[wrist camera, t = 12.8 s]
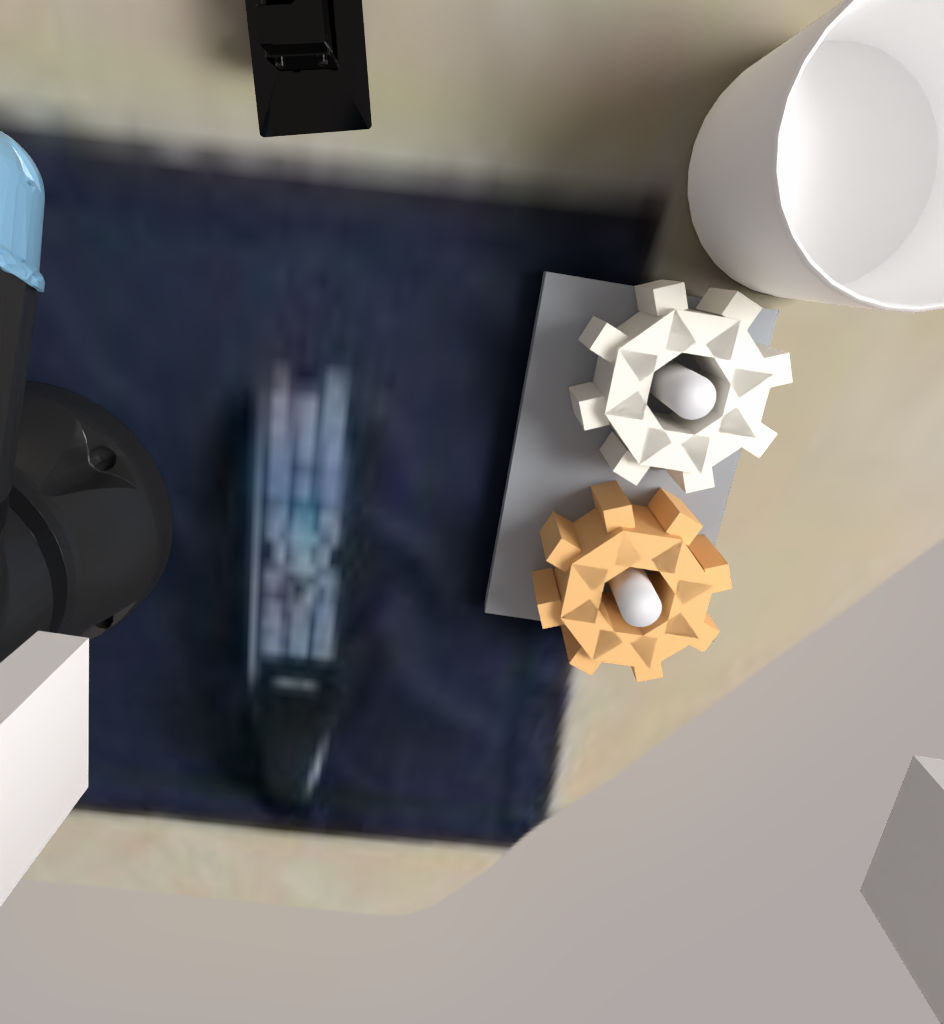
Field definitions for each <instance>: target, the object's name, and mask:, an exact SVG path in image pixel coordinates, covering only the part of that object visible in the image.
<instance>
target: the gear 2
mask: <svg viewBox="0 0 944 1024" xmlns="http://www.w3.org/2000/svg"><path fill="white" fill-rule="evenodd" d="M591 490H592V495H593V500H594V505H595V508H594V509H593V510H591V511H590V512H588V513H587V514H585V515H584V516H582V517H581V518H579V519H578V520H576V521H575V522H573V523H572V522H571V521H569V520H568V519H566V518H564V517H563V516H561V515H559V514H557V513H556V512H554V511H553V512H552V514H551V515H550V517H549V518H548V520H547V521H546V523H545V524H544V526H543V527H542V529H541V530H540V536H541V540H542V545H543V549H544V553H545V558H546V561H547V562H549V563H551V564H553V565H554V569H553V568H547V569H542V570H538V571H533V572H532V577H533V583H534V589H535V595H536V601H537V606H538V610H539V614H540V619H541V623H542V627H543V629H545V628H550V627H555V626H559V625H561V629H562V633H563V638H564V642H565V646H566V651H567V655H568V660H569V663H570V664H572V665H573V666H575V667H577V668H579V669H580V670H582V671H584V672H586V673H588V674H589V675H591V676H592V674H593V673H594V672H595V670H596V669H597V668H598V666H599V665H600V664H601V662H605V663H612V664H619V665H626V666H631V668H632V670H633V673H634V676H635V678H636V681H637V682H641V681H645V680H650V679H655V678H660V677H663V673H662V668H661V661H663V660H665V659H666V658H668V657H670V656H671V655H673V654H675V653H676V652H678V651H679V650H681V649H683V648H684V647H686V646H688V645H689V644H690V645H691V646H693V647H695V648H697V649H698V650H700V651H702V652H704V651H705V650H706V649H707V647H708V646H709V645H710V644H711V642H712V641H713V640H714V639H715V637H716V636H717V635H718V634H719V630H718V628H717V627H716V625H715V624H714V622H713V621H712V619H711V618H710V616H709V615H708V613H707V608H708V605H709V601H710V598H711V594H712V593H715V592H719V591H724V590H729V589H732V585H731V578H730V571H729V564H728V563H727V561H726V560H725V559H724V558H723V557H722V555H721V554H720V553H719V552H718V551H717V549H716V548H715V547H714V546H713V544H712V543H711V542H710V541H709V540H708V538H707V537H706V536H705V535H704V534H703V535H698V536H696V535H697V534H698V533H699V531H700V530H701V529H702V527H703V525H702V524H701V523H700V522H699V521H698V519H697V518H696V517H695V516H694V515H693V514H692V512H691V511H690V510H689V509H688V508H687V506H686V505H685V504H684V503H683V502H682V500H680V499H679V498H677V497H675V496H674V495H672V494H671V493H669V492H667V491H666V490H664V489H663V488H661V487H660V488H659V490H658V491H657V492H656V494H655V495H654V496H653V498H652V499H651V501H650V502H649V503H648V507H647V506H641V505H634V504H631V503H630V502H629V500H628V498H627V497H626V495H625V494H624V492H623V490H622V489H621V487H620V486H619V484H618V482H617V481H616V480H615V481H610V482H606V483H602V484H597V485H593V486H591ZM629 567H634V568H641V569H648V570H650V573H649V577H648V578H649V580H650V582H651V584H652V586H653V588H654V590H655V591H656V593H657V595H658V597H659V599H660V601H661V604H662V610H661V614H660V616H659V618H658V619H657V620H656V621H655V622H654V623H652V624H651V625H648V626H645V627H635V626H632V625H630V624H628V623H627V622H626V621H625V620H624V619H623V617H622V615H621V612H620V610H619V607H618V605H617V602H616V600H615V597H614V595H613V593H606V592H603V588H604V583H605V582H607V581H609V580H610V579H612V578H613V577H615V576H616V575H618V574H619V573H621V572H623V571H624V570H626V569H627V568H629Z"/></svg>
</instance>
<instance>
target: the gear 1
mask: <svg viewBox="0 0 944 1024" xmlns="http://www.w3.org/2000/svg"><path fill="white" fill-rule="evenodd" d="M634 287H635V293H636V299H637V305H638V310H639V312H638V313H637V314H635V315H634V316H632V317H631V318H630V319H628V320H627V321H625V322H624V323H622V324H621V325H620V326H618V327H617V328H615V327H613V326H611V325H610V324H608V323H607V322H605V321H603V320H601V319H599V318H597V317H595V316H593V317H592V318H591V320H590V322H589V323H588V325H587V326H586V328H585V329H584V331H583V332H582V334H581V336H580V337H579V339H578V340H579V341H580V342H581V343H583V344H584V345H585V346H586V347H587V348H589V349H590V350H591V351H593V352H595V353H596V354H598V359H597V364H596V369H595V373H594V378H593V383H592V382H588V383H584V384H579V385H575V386H571V387H569V392H570V397H571V402H572V407H573V412H574V414H575V416H576V417H577V419H578V421H579V422H580V424H581V425H582V427H583V429H584V430H589V429H593V428H598V427H602V426H606V425H610V426H611V427H612V429H613V430H614V432H613V431H612V432H611V433H610V434H609V436H608V437H607V439H606V440H605V442H604V443H603V445H602V446H601V448H600V449H599V450H600V452H601V453H602V455H603V456H604V458H605V460H606V461H607V463H608V464H609V466H610V468H611V469H612V471H613V472H615V473H617V474H618V475H620V476H622V477H623V478H625V479H626V480H628V481H630V482H631V483H633V484H635V485H636V486H637V484H638V483H639V482H640V480H641V479H642V477H643V476H644V475H645V473H646V472H647V470H648V469H649V468H650V466H652V467H659V468H665V470H666V471H667V472H668V474H669V475H670V476H671V477H672V478H673V479H674V480H675V481H676V483H677V484H678V485H679V486H680V487H681V488H682V489H683V491H684V492H685V493H690V492H695V491H699V490H704V489H708V488H713V487H715V485H714V478H713V472H712V466H714V465H715V464H717V463H718V462H720V461H722V460H723V459H725V458H726V457H728V456H729V455H731V454H732V453H734V452H735V451H737V450H738V449H740V448H741V447H743V448H744V449H746V450H747V451H749V452H751V453H752V454H754V455H755V456H757V457H758V458H760V457H761V455H762V454H763V453H764V451H765V450H766V449H767V447H768V446H769V445H770V443H771V442H772V441H773V439H774V438H775V437H776V435H777V433H776V432H774V431H773V430H771V429H770V428H768V427H767V426H765V425H764V424H762V423H761V418H762V415H763V411H764V408H765V404H766V400H767V397H768V393H769V390H770V387H774V386H779V385H783V384H787V383H792V374H791V365H790V356H789V352H786V351H782V350H779V349H776V348H772V347H769V346H766V345H763V344H759V343H754V341H753V339H752V338H751V336H750V334H749V333H748V331H747V329H748V328H749V326H750V325H751V324H752V322H753V321H754V319H755V318H756V316H757V315H758V314H759V312H760V311H761V309H762V307H761V306H759V305H758V304H756V303H755V302H753V301H752V300H750V299H749V298H747V297H746V296H745V295H743V294H742V293H740V292H739V291H734V290H727V289H719V288H711V287H710V288H709V289H708V291H707V292H706V294H705V295H704V297H703V298H702V300H701V301H700V303H699V304H698V305H697V307H696V309H697V310H699V311H697V310H691V309H688V304H687V297H686V290H685V284H684V282H680V281H672V280H663V279H661V280H657V281H653V282H649V283H645V284H641V285H637V286H634ZM681 353H688V354H692V356H693V358H694V359H695V361H696V362H697V364H698V366H699V367H700V369H701V371H700V375H701V376H703V377H705V378H707V379H708V380H710V381H711V382H712V384H713V385H714V387H715V390H716V401H715V404H714V406H713V408H712V410H711V411H710V412H709V413H708V414H707V415H705V416H704V417H702V418H699V419H695V420H689V419H685V418H682V417H680V416H679V415H678V414H677V413H675V412H672V413H671V414H665V413H658V412H652V411H651V410H650V409H649V407H648V406H647V400H648V395H649V391H650V387H651V382H652V378H653V374H654V372H655V371H656V370H657V369H659V368H660V367H662V366H663V365H665V364H666V363H668V362H669V361H670V360H672V359H673V358H675V357H676V356H678V355H679V354H681Z"/></svg>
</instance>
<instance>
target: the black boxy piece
mask: <svg viewBox="0 0 944 1024" xmlns="http://www.w3.org/2000/svg"><path fill="white" fill-rule="evenodd" d="M245 2H246V11H247V20H248V29H249V39H250V48H251V57H252V66H253V75H254V85H255V94H256V103H257V112H258V121H259V130H260V135H261V136H262V137H273V136H285V135H298V134H311V133H323V132H336V131H349V130H361V129H369V128H370V127H371V125H372V123H371V111H370V98H369V85H368V73H367V60H366V47H365V35H364V22H363V9H362V0H245Z"/></svg>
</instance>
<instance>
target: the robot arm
mask: <svg viewBox="0 0 944 1024" xmlns="http://www.w3.org/2000/svg"><path fill="white" fill-rule="evenodd" d="M44 202H45V193H44V186H43V181H42V178H41V175H40V173H39V171H38V169H37V167H36V165H35V163H34V162H33V160H32V159H31V157H30V156H29V155H28V154H27V152H26V151H25V150H24V149H23V148H22V147H21V146H20V145H19V144H18V143H17V142H15V141H14V140H13V139H12V138H10V137H9V136H8V135H6V134H5V133H3V132H1V131H0V906H1V905H2V904H3V902H4V901H5V899H6V898H7V897H8V895H9V894H10V893H11V891H12V890H13V888H14V887H15V886H16V884H17V883H18V882H19V880H20V879H21V878H22V876H23V875H24V874H25V872H26V871H27V870H28V868H29V867H30V865H31V864H32V863H33V861H34V860H35V859H36V857H37V856H38V855H39V853H40V852H41V850H42V849H43V848H44V846H45V845H46V844H47V842H48V841H49V840H50V838H51V837H52V835H53V834H54V833H55V831H56V830H57V829H58V827H59V826H60V825H61V823H62V822H63V821H64V819H65V818H66V816H67V815H68V814H69V812H70V811H71V810H72V808H73V807H74V806H75V804H76V803H77V801H78V800H79V799H80V797H81V796H82V795H83V793H84V792H85V791H86V789H87V788H88V708H89V640H91V639H94V638H96V637H98V636H100V635H102V634H104V633H106V632H107V631H109V630H111V629H112V628H114V627H115V626H117V625H118V624H120V623H121V622H122V621H123V620H125V619H126V618H127V617H128V616H129V615H130V614H131V613H132V612H133V611H134V610H135V609H136V608H137V607H138V606H139V605H140V604H141V603H142V602H143V601H144V600H145V599H146V598H147V597H148V596H149V594H150V593H151V592H152V591H153V589H154V588H155V586H156V585H157V583H158V582H159V580H160V578H161V576H162V574H163V572H164V570H165V567H166V565H167V562H168V559H169V555H170V551H171V545H172V535H173V521H172V512H171V505H170V501H169V497H168V493H167V490H166V487H165V484H164V482H163V479H162V477H161V475H160V473H159V471H158V468H157V467H156V465H155V463H154V461H153V460H152V458H151V456H150V455H149V453H148V452H147V450H146V449H145V448H144V446H143V445H142V444H141V442H140V441H139V440H138V439H137V438H136V437H135V435H134V434H133V433H132V432H131V431H130V430H129V429H128V428H127V427H126V426H125V425H124V424H123V423H121V422H120V421H119V420H118V419H117V418H116V417H114V416H113V415H112V414H110V413H109V412H108V411H106V410H105V409H103V408H102V407H100V406H99V405H97V404H95V403H94V402H92V401H90V400H88V399H86V398H84V397H82V396H80V395H78V394H76V393H73V392H71V391H68V390H65V389H63V388H60V387H56V386H52V385H48V384H43V383H38V382H30V381H26V378H27V371H28V364H29V356H30V349H31V342H32V335H33V327H34V320H35V313H36V305H37V298H38V291H39V292H44V285H45V282H44V279H43V276H42V275H41V273H40V272H39V267H40V254H41V241H42V228H43V215H44ZM860 891H861V893H862V895H863V896H864V898H865V900H866V901H867V903H868V904H869V906H870V907H871V909H872V911H873V913H874V914H875V916H876V918H877V919H878V921H879V923H880V924H881V926H882V928H883V929H884V930H885V933H886V934H887V936H888V937H889V939H890V941H891V942H892V944H893V946H894V947H895V949H896V951H897V952H898V954H899V956H900V957H901V959H902V960H903V962H904V964H905V966H906V967H907V969H908V970H909V972H910V974H911V975H912V977H913V979H914V980H915V982H916V984H917V985H918V987H919V989H920V990H921V992H922V994H923V995H924V997H925V999H926V1000H927V1002H928V1004H929V1005H930V1007H931V1008H932V1010H933V1012H934V1014H935V1015H936V1017H937V1018H938V1020H939V1022H940V1023H941V1024H944V760H942V759H935V758H929V757H921V756H913V758H912V760H911V763H910V765H909V768H908V771H907V773H906V776H905V778H904V781H903V784H902V786H901V788H900V791H899V793H898V796H897V798H896V801H895V804H894V806H893V809H892V811H891V814H890V816H889V819H888V821H887V824H886V826H885V829H884V831H883V834H882V837H881V839H880V842H879V844H878V847H877V849H876V852H875V854H874V857H873V859H872V862H871V865H870V867H869V869H868V872H867V875H866V877H865V880H864V882H863V885H862V887H861V890H860Z"/></svg>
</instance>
